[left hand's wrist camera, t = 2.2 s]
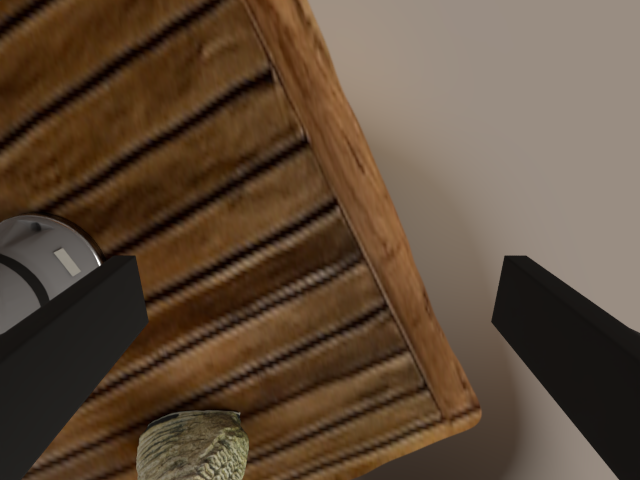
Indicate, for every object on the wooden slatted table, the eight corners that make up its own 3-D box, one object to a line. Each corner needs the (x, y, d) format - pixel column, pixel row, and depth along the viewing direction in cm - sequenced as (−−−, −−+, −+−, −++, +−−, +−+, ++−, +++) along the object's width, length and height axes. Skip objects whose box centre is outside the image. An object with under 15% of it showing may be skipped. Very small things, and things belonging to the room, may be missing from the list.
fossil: (262, 428, 58) (244, 531, 44) (165, 458, 60) (118, 565, 46) (238, 389, 55) (210, 486, 41) (137, 423, 57) (77, 524, 43)
